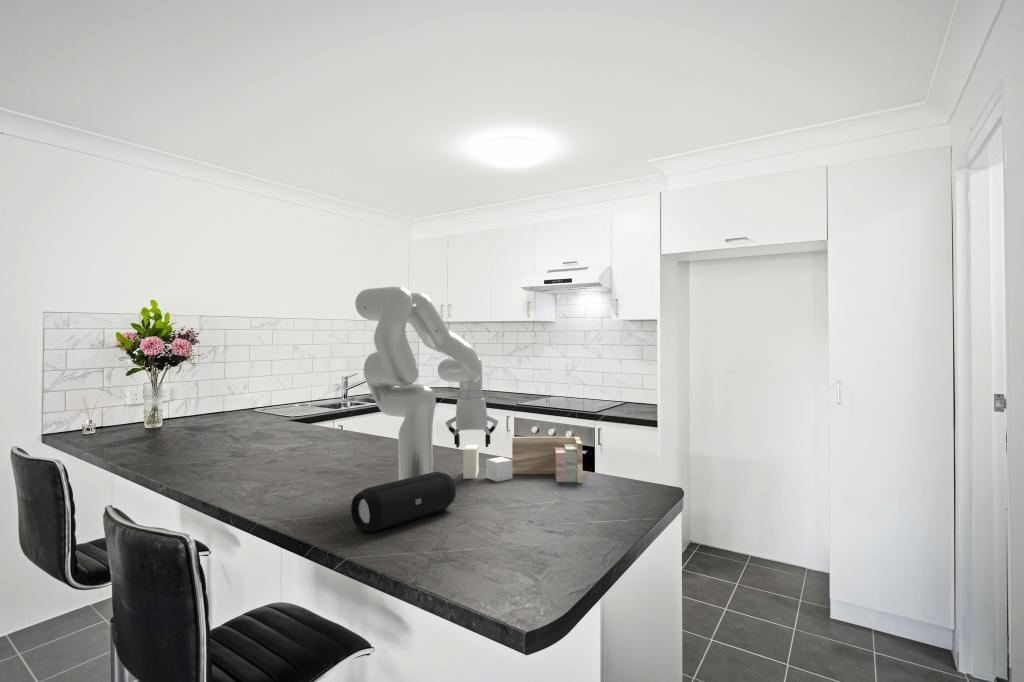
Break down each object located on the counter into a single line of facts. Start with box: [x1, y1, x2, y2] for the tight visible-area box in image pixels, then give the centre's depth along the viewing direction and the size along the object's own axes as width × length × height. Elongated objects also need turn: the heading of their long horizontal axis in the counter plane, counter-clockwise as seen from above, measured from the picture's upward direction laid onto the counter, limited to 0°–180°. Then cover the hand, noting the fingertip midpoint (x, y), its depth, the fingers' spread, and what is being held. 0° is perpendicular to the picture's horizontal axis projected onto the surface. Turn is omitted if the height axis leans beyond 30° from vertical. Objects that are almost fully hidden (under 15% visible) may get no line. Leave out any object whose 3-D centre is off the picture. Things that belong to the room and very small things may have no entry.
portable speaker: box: [350, 471, 457, 533], centre depth 130 cm, size 26×10×10 cm, turn 138°
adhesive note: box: [485, 456, 513, 483], centre depth 170 cm, size 6×6×6 cm
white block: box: [462, 444, 480, 480], centre depth 174 cm, size 9×4×9 cm, turn 178°
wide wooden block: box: [511, 436, 584, 484], centre depth 170 cm, size 12×22×12 cm, turn 88°
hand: (472, 446), depth 175 cm, fingers open, 9 cm apart
